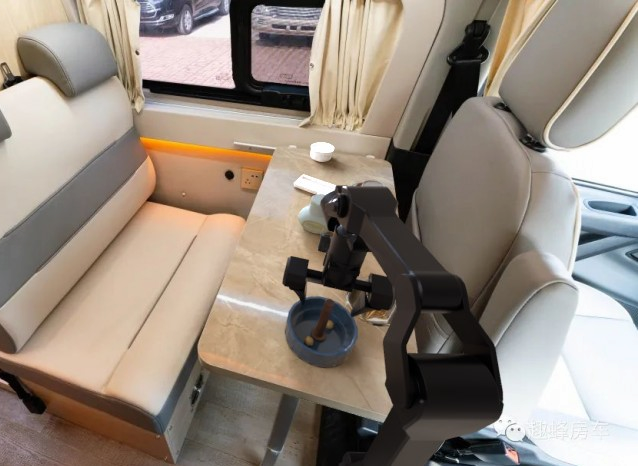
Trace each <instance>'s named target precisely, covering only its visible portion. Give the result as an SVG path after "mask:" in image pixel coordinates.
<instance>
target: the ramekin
mask: <svg viewBox="0 0 638 466" xmlns="http://www.w3.org/2000/svg"><path fill="white" fill-rule="evenodd" d="M334 151H335V146H334V145H333V144H330V143H327V142H323V141H322V142H321V141H320V142H315V143H312V144H311V145H310V158H311V159H312V160H313V161H316V162H319V163H326V162H329V161H330V160H331V159H332V157H333V153H334Z"/></svg>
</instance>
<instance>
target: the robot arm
mask: <svg viewBox="0 0 638 466" xmlns="http://www.w3.org/2000/svg"><path fill="white" fill-rule="evenodd" d="M335 185H336V187H335V190H334V191H331V192H329V193H328V194H326V195H325V196H324V197H323V199H321V202H320V207H321V210H322V213H323V216H324V219H325V222H326V225H327V228H328V230H329V232H331V233H333V234H332V236H331V234H327V233H321V234H319V235H320V236H319V240H318V244H317V252H319V253H324V257H323V261H322V266H323V268H322V270H317V269H312V268H309V264H310V263H309V262H310V259H307V258H304V257H303V258H302V257H299V256H294V255H290V256H289V257H287V260H286V263H285V267H284V271H283V276H282V281H281V283H282V285H283V287H285V288H286V287H287V288H288V289H289V290H290V291H293V292H294V293H295V294H296V296H297V297H298V300H300V301H301V303H302V305H305V301H306V297H307V293H308V291H307V290H308V283H313V284H316V285H321V286H323V287H325V288H329V289H334V290H339V291H343V292H347V293H353V292H354V290H355V291H360V294H359V295H358V297H357V299H356V301H355V302H354V303H353V305H352V308H351V311H350V314H351V317H353V318H355V317H357V316H360V315H363V314H366V313H371V312H375V311H376V312H381V311H386V312H389V311H391V310H392V309H393V307H394V306H395V313H394V315H393V317H392V319H391V321H390V324H389V326H388V328H387V330H386V332H385V334H384V337H383V338H382V339H383V340H382V348H383V349H382V350H383V359H384V370H385V381H384V388H385V390H386V392H387V395H388V397H389V399H390V401H391V404H392V406H391V408H390V410H389V412H388V413H387V416H386V417H385V419H384V421H383V423H382V424H381V426H380V428H379V430H378V431H377V433H376V435H375V437H374V438H373V441H372V442H371V444H370V446H369V448H368V450H367V451H346V452H345V453H344V454H343V456H342V460H341V462H338V466H425V465H426V463H427V462H428V461H429V460H430V459H431V458H432V456H433V455H434V454H435V452H436V451H438V449H439V448H440V447H441V445H442V444H443V443H444V441H447V440H449V439H453V438H458V437H462V436H466V435H469V434H474V433H477V432H479V431H482V430H483V429H485V428H487V427H489V426H491V425H493V424H494V423H496V422H498V421H499V420H500V418H501V416H502V415H503V411H504V407H505V403H504V388H503V383H502V378H501V372H500V366H499V359H498V353H497V348H496V345H495V343H494V341H493V340H492V339H491V338H490V335H488V333H487V332H486V330H485V329H484V328H483V326H482V325H481V323H480V322H479V320H477V318H476V317H475V315H474V314H473V312H472V311H471V307H470V301H469V295H468V290H467V286H466V283H465V282H464V280H463V279H462V278H461V277H460V276H459V275H458V274H453V273H451V272H449V270H447V269H446V268H445V266H443V265H442V264H441V263H440V262H439V260H438V259H437V258H436V257H435V256H434V255H433V253H431V251H430V250H429V249H428V248H427V247H426V246H425V245H424V244H423V243H422V241H420V239H419V238H418V237H417V236H416V235H415V234H414V233H413V231H411V229H410V228H409V227H408V226H407V225H406V224H405V223H404V221H402V219H400V217H399V215H398V214H397V209H398V206H399V201H398V200H397V199H396V197H395V195H394V194H393V192H392V190H391V189H390V188H389V187H388V186H386V185H385V186H361V185H346V184H345V185H344V184H343V185H341V184H339V185H338V184H335ZM368 253H371V254H372V256H373V257H374V259H375V260H376V262H377V263H378V265H379V267H380V268H381V270H382V271H383V273H384V275H381V274H377V273H373V272H370V273H368V276H367V277H368V278H364V277H360V275H361V269H362V267H363V264H364V261H365V259H366V256H367V254H368ZM421 314H441V315H442V316H443V318H444V320H445V321H446V322H447V324H448V325H449V327H450V328H451V329H452V331H453V332H454V334H455V335H456V336H457V338H458V339H459V341H460V342H461V345H462V352H463V353H445V352H444V353H443V352H440V353H437V352H408V348H407V345H408V343H409V341H410V339H411V336H412V334H413V332H414V330H415V327H416V325H417V323H418V321H419V318H420V316H421Z"/></svg>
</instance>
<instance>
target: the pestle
mask: <svg viewBox="0 0 638 466" xmlns="http://www.w3.org/2000/svg"><path fill="white" fill-rule="evenodd" d="M331 299H332V298H329V299H326V300H325V303H324V306H323V309H322V312H321V315H320V318H319V321H318V324H317V327H315V328H313V329H312V331H311V337H312V338H313V339H314V340H315V341H317V342H322V341H324V340H325V339H326V332H325V328H326V326H327V323H328V320H329V318H330V315H331V312H332V310H333V307H334V301H335V300H334V299H332V300H331ZM333 300H334V301H333Z"/></svg>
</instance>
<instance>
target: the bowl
mask: <svg viewBox="0 0 638 466" xmlns="http://www.w3.org/2000/svg"><path fill="white" fill-rule="evenodd" d="M326 299H331V300H333V301H334V307H333V310H332V312H331V315H330V318H329V320H331V321H332V322H333V323H334V327H333V328H332V329H327V328H325V332H326V339H325V340H324V341H322V342H317V341H315V340H314V339H313V338H312V339H313V341H314V342H313V345H312V346H306V345H305V344H304V338H305V337H307V336H310V337H311V331H312V329H313V328H315V327H317V324H318V321H319V318H320V315H321V312H322V309H323V306H324V303H325V300H326ZM284 335H285V340H286V342H287V344H288V346H289V348H290V350H291V351H292V353H294V354H295V355H296V357H298V358H299V359H300V360H302V361H303V362H305V363H308V364H309V365H312V366H315V367H319V368H333V367H336V366H338V365H341V364H343V363H344V362H345V361H346V360H347V359H348V358H349V357H350V356H351V354H352V352H353V349H354V347H355V345H356V343H357V341H358V338H359V328H358V325H357V322H356V319H355V317H351V311H349V310H348V309H347V308H346V307H345V306H344V305H342V304H341V303H340V302H338V301H336V300H334V299H332V298H329V297H324V296H318V295H315V296H314V295H313V296H310V295H309V296H306V301H305V305H302V303H301V301H300V299H298V300H297V301H296V302H295V303H293V304H292V306H291V307H290V309H289V310H288V312H287V318H286V323H285V328H284Z"/></svg>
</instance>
